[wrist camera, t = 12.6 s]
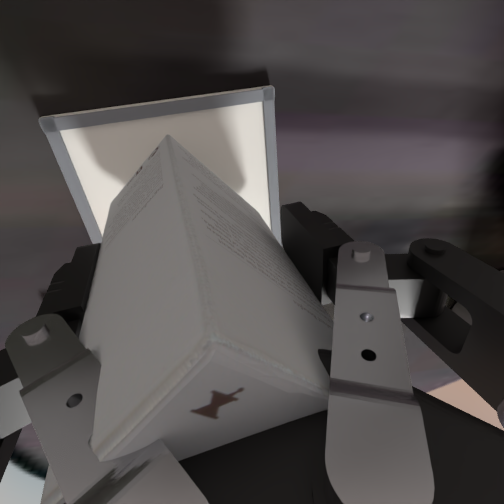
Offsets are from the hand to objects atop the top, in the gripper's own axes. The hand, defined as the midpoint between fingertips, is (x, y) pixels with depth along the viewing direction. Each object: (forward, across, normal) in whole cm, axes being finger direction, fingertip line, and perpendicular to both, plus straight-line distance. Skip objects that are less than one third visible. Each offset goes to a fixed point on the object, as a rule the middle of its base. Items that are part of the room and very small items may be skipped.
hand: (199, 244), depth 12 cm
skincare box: (+4, 0, 0) cm, 4 cm away
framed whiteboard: (+5, 0, 0) cm, 5 cm away
